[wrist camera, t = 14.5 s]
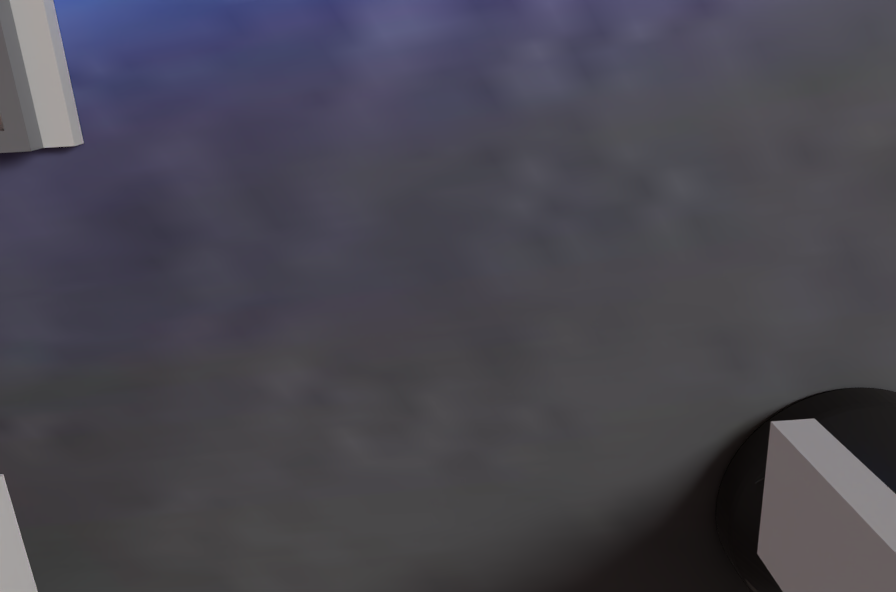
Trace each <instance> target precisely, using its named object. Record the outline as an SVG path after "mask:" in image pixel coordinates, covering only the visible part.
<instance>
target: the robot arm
mask: <svg viewBox="0 0 896 592" xmlns="http://www.w3.org/2000/svg"><path fill="white" fill-rule="evenodd" d="M716 524H717V531H718V535H719V538H720V541H721V544H722V546H723V549H724V551H725V552H726V554H727V556H728V558H729V559H730V561H731V562H732V564H733V566H734V567H735V569H736V571H737V572H738V574H739V575H740V577H741V578H742V580H743V581H744V583H745V584H746V585H747V586H748V587H749V588H750V590H751V591H752V592H896V392H893V391H889V390H883V389H876V388H849V389H841V390H835V391H830V392H826V393H822V394H819V395H816V396H813V397H810V398H807V399H805V400H803V401H800V402H798V403H796V404H794V405H792V406H790V407H788V408H786V409H785V410H783V411H781V412H780V413H778V414H777V415H775V416H774V417H772V418H771V419H769V420H768V421H767V422H766V423H764V424H763V425H762V426H761V427H760V428H759V429H757V430H756V431H755V432H754V433H753V434H752V435H751V436H750V437H749V438H748V439H747V441H746V442H745V443H744V444H743V445H742V447H741V448H740V449H739V450H738V452H737V453H736V455H735V456H734V458H733V459H732V461H731V463H730V465H729V466H728V468H727V470H726V472H725V475H724V477H723V480H722V482H721V485H720V489H719V492H718V497H717V504H716ZM0 592H38V591H37V588H36V585H35V581H34V578H33V574H32V571H31V568H30V564H29V561H28V557H27V554H26V550H25V547H24V544H23V540H22V537H21V533H20V530H19V526H18V523H17V520H16V516H15V513H14V509H13V506H12V503H11V499H10V496H9V492H8V489H7V485H6V482H5V479H4V475H3V474H0Z"/></svg>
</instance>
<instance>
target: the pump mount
mask: <svg viewBox="0 0 896 592" xmlns="http://www.w3.org/2000/svg"><path fill="white" fill-rule="evenodd" d="M80 144H84V142H83V137H82V133H81V128H80V123H79V119H78V114H77V109H76V105H75V100H74V95H73V91H72V86H71V81H70V76H69V72H68V67H67V62H66V58H65V53H64V48H63V44H62V39H61V34H60V30H59V25H58V20H57V16H56V11H55V6H54V2H53V0H0V153H9V152H27V151H34V150H38V149H41V148H50V147H67V146H77V145H80Z"/></svg>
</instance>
